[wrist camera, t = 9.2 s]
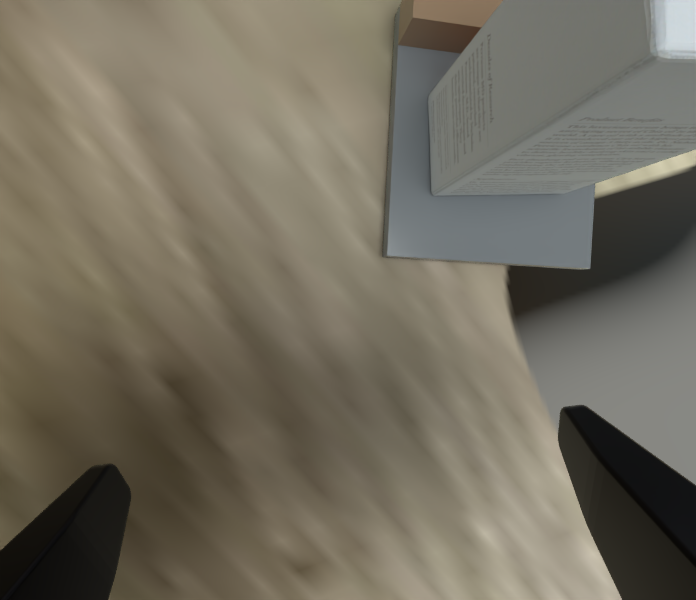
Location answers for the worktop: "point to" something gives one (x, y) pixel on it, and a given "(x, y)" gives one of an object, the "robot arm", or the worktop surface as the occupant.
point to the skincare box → (565, 96)
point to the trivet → (463, 210)
